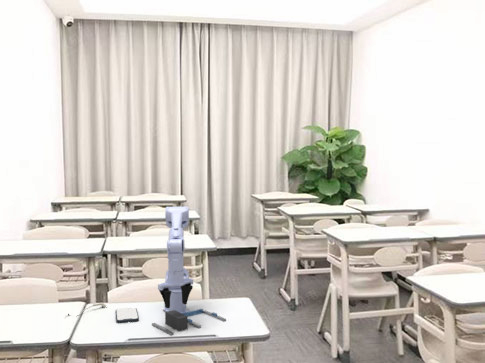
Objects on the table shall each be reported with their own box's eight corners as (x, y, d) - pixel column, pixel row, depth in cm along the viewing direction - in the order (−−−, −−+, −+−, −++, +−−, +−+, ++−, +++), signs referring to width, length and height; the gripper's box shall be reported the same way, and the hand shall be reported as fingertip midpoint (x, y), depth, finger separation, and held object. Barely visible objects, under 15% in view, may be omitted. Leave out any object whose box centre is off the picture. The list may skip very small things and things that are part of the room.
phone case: (115, 312, 209) (116, 324, 193) (115, 309, 209) (116, 320, 193) (136, 311, 211) (139, 322, 196) (136, 307, 211) (139, 318, 196)
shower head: (66, 327, 199) (111, 311, 213) (66, 320, 198) (111, 304, 212) (60, 320, 203) (104, 305, 217) (60, 313, 202) (105, 298, 216)
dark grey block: (165, 324, 193) (165, 311, 193) (174, 322, 195) (174, 309, 195) (178, 331, 185) (178, 318, 185) (187, 329, 187) (187, 316, 187)
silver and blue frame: (150, 324, 192) (150, 320, 192) (203, 311, 208) (203, 308, 208) (171, 335, 181) (171, 331, 180) (226, 320, 197) (226, 317, 196)
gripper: (164, 275, 181) (165, 311, 182) (197, 269, 190) (197, 304, 191) (155, 271, 187) (155, 307, 187) (187, 266, 196) (187, 300, 197)
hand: (176, 305), depth 190 cm, fingers open, 7 cm apart
